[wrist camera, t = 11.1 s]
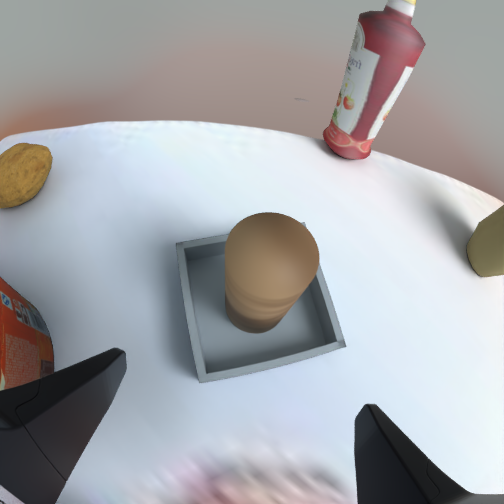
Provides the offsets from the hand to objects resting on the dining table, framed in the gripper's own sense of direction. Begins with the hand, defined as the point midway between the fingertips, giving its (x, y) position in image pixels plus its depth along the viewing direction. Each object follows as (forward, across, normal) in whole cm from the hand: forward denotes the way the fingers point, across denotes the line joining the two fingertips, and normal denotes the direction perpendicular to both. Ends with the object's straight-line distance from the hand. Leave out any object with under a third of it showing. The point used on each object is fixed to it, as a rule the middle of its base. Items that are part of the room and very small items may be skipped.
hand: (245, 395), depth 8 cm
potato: (+19, +33, 0) cm, 38 cm away
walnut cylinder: (+14, 0, +4) cm, 14 cm away
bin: (+14, 0, +4) cm, 15 cm away
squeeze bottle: (+23, -30, -4) cm, 38 cm away
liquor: (+31, -8, -13) cm, 34 cm away
